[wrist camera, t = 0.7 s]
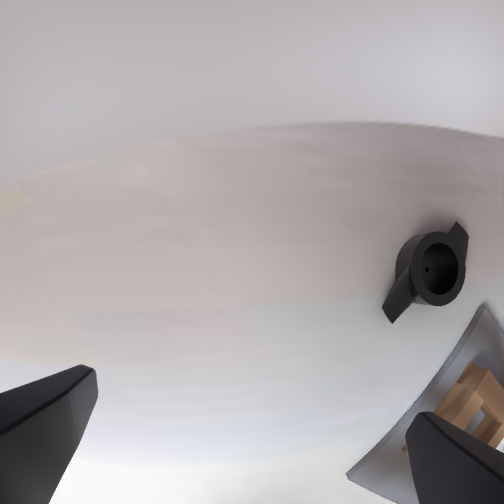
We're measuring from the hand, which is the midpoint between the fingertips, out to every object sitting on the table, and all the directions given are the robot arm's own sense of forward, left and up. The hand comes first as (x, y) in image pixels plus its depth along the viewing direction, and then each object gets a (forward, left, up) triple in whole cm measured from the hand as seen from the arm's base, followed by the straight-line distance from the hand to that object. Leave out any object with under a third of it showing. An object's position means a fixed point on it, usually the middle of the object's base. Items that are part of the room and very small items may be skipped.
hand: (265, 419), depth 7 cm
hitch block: (+5, -23, -15) cm, 28 cm away
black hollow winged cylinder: (+13, -8, -16) cm, 22 cm away
